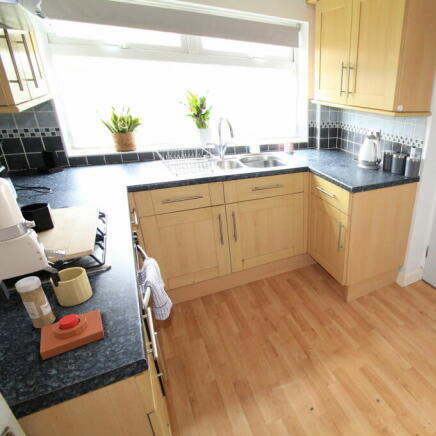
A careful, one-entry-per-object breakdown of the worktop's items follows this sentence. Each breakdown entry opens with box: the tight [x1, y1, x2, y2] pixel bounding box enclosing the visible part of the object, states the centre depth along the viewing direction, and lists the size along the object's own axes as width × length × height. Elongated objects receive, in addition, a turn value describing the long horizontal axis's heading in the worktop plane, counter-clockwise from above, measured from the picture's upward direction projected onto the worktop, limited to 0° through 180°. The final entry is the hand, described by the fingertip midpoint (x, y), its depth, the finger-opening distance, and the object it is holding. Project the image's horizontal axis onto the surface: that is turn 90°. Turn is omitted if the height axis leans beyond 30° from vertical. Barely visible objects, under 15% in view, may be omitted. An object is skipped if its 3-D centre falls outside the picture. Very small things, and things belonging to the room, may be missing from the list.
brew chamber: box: [49, 266, 93, 307], centre depth 92 cm, size 8×8×8 cm
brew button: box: [58, 313, 79, 330], centre depth 79 cm, size 4×4×2 cm
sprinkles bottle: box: [14, 276, 56, 329], centre depth 82 cm, size 5×5×13 cm
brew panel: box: [39, 308, 105, 361], centre depth 80 cm, size 12×10×4 cm
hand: (32, 291), depth 80 cm, fingers open, 9 cm apart
